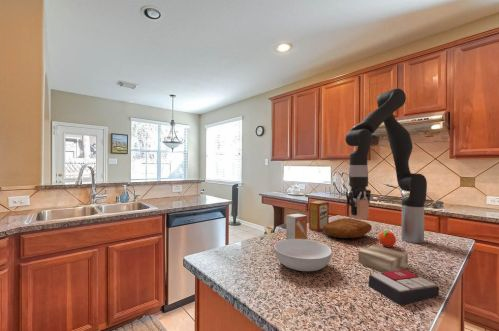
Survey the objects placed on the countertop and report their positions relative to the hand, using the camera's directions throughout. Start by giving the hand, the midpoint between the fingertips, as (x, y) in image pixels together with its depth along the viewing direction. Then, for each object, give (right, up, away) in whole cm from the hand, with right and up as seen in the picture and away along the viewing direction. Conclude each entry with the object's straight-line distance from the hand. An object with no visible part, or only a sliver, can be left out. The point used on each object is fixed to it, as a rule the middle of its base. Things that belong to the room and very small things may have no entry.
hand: (358, 214), depth 104 cm
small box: (-25, -16, +11) cm, 32 cm away
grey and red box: (-2, -17, -33) cm, 37 cm away
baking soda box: (-7, -16, +35) cm, 39 cm away
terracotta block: (0, -2, 0) cm, 2 cm away
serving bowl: (-28, -16, -16) cm, 36 cm away
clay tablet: (+3, -16, +20) cm, 26 cm away
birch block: (+2, -16, -15) cm, 22 cm away
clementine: (+15, -16, +5) cm, 23 cm away
